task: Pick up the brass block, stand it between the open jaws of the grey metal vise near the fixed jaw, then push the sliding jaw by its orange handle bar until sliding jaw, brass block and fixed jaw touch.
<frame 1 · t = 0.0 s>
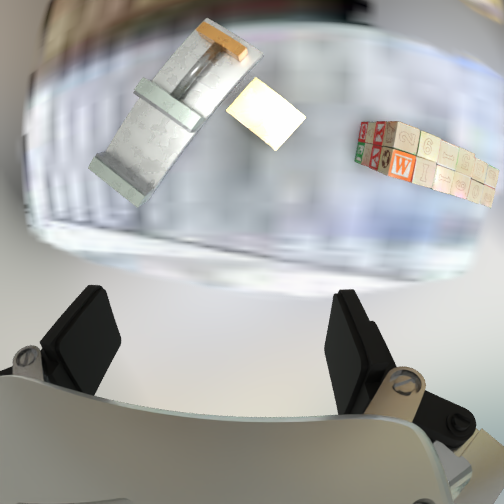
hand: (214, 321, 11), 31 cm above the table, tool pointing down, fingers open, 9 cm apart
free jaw: (193, 73, 30), point 3 cm above the table, slide at -5.0 cm
brass block: (264, 117, 36), on the table
vise: (160, 127, 36), on the table
stack of blocks: (416, 159, 37), on the table
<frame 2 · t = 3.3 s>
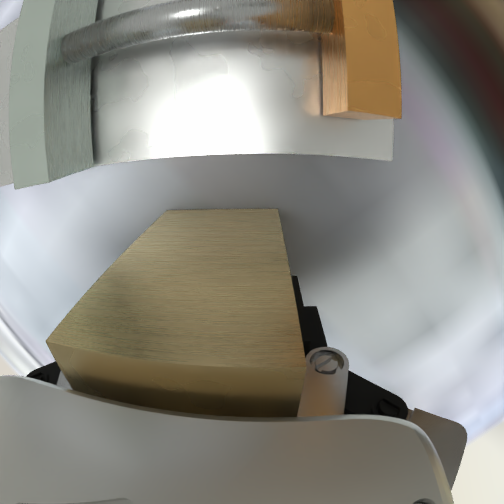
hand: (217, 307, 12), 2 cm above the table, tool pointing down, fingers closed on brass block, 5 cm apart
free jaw: (172, 19, 6), point 3 cm above the table, slide at -5.0 cm
brass block: (224, 278, 14), on the table, touching gripper
vise: (38, 88, 10), on the table
when the fingers open (5 cm above the table, at t = 9.8 s): brass block stays where it is, resting on vise.
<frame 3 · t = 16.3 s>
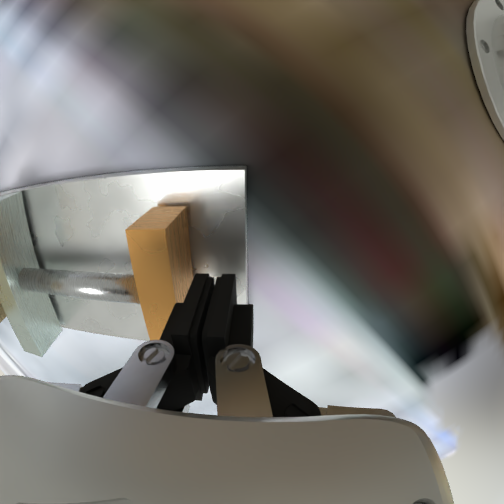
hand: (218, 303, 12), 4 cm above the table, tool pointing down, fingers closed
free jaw: (71, 284, 13), point 3 cm above the table, slide at -3.8 cm, touching gripper
vise: (22, 254, 16), on the table
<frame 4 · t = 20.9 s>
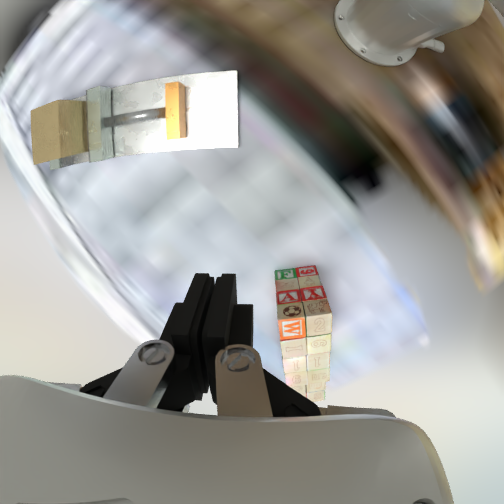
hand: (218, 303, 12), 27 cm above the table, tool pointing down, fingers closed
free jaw: (132, 117, 30), point 3 cm above the table, slide at 0.0 cm, touching brass block
brass block: (84, 128, 32), point 1 cm above the table, touching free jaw, vise
vise: (117, 122, 33), on the table
stack of blocks: (298, 322, 46), on the table
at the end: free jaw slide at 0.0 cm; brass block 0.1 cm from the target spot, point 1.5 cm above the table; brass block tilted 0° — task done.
